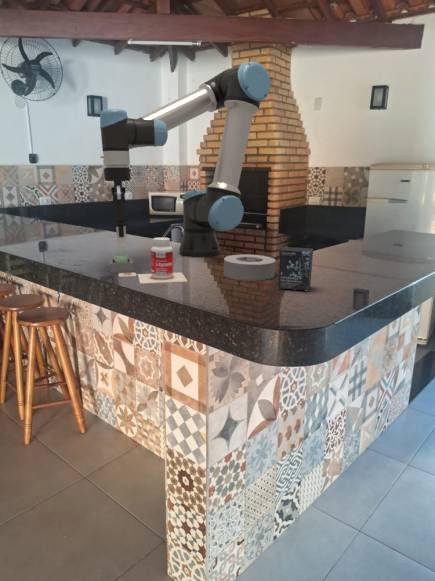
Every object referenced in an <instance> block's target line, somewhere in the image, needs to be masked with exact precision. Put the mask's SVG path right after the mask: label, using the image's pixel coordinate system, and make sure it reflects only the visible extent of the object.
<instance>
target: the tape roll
mask: <svg viewBox="0 0 435 581" xmlns="http://www.w3.org/2000/svg"><path fill="white" fill-rule="evenodd" d="M223 276H224V277H226V278H228V279H231V280H237V281H246V282H247V281H248V282H249V281H250V282H251V281H252V282H253V281H254V282H255V281H256V282H259V281H266V279H268V280H271V279H273V278H275V276H276V259H275V258H274V257H270V256H266V255H260V254H259V255H258V254H233V255H227V256H225V257H224V258H223ZM270 278H271V279H270Z"/></svg>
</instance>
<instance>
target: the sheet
mask: <svg viewBox="0 0 435 581" xmlns="http://www.w3.org/2000/svg"><path fill="white" fill-rule="evenodd" d="M137 276H138V278H137V279H138V280H139V284H140V285H149V284H170V283H188V280H187V278H186V277H185V275H184V274H183V272H173V277H171V278H168V279H156V278H153V277H152V275H151V273H141V274H140V273H139V274H137Z"/></svg>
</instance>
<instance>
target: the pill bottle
mask: <svg viewBox="0 0 435 581" xmlns="http://www.w3.org/2000/svg"><path fill="white" fill-rule="evenodd" d="M152 242H153V246H152V247H150V268H151V269H150V271H151V272H150V274H151V275H152V277H153V278H156V279H168V278H171V277H173V273H174V249H173V247H172V246H171V245H170V244H171V238H169V237H153V240H152Z"/></svg>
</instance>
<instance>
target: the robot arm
mask: <svg viewBox="0 0 435 581" xmlns="http://www.w3.org/2000/svg"><path fill="white" fill-rule="evenodd" d="M270 78H271V77H270V74H268V71H267V69H266V67H265V66H264V65H262V64H261V63H260V62H257V61H249V62H243V63H241V64H239V65H237V66H233V67H231V68H227V69H224V70H223V71H221V72H219V73H218V74H216V75H215V76H214V77H212V78H210V79H208V80H207V81H205V82H204V83H201V84H199V86H198V89H195V90H194V91H192V92H189V93H187V94H185V95H183V96H182V97H179V98H177V99H175V100H173V101H171V102H168V103H167V104H165V105H163V106H161V107H159V108H157V109H154V110H152V111H151V112H148V113H146V114H144V115H142V116H140V117H138V118H131V117H130V118H129V117H128V112H127V111H126V110H125V109H118V108H109V109H106V108H105V109H103V110H101V112H100V115H99V126H100V127H99V128H100V136H101V148H102V154H100V159H103V160H102V163H103V166H104V168H103V178H104V181H106V182H113V186H112V187H110V188H111V194H112V202H113V203H114V209H115V223H114V224H113V227H115V228H116V229H115V230H116V244H117V245H116V246H117V248H118V249H122V248H124V249H125V248H127V232H126V226H127V225H128V222H126V218H125V217H126V216H125V203H126V186H125V187H124V186H123V182H129V181H130V180H131V168H130V167H129V166H130V165H131V160H130V158H131V157H130V150H131V149H135V148H136V149H137V148H145V147H153V148H154V147H164V146H165V145H166V144H167V140H168V136H169V135H168V134H169V131H170V130H172V129H175V128H177V127H178V126H180V125H183V124H184V123H186V122H189V121H191V120H193V119H195V118H197V117H199V116H201V115H202V114H205V113H206V112H209V113H213V112H215V111H217V110H219V109H220V110H221V109H223V108H225V109H226V110H227V112H226V116H225V121H224V127H223V130H222V131H223V132H222V134H221V135H222V136H221V140H220V144H219V152H218V156H217V160H216V165H215V170H214V175H213V180H212V182H211V183H210V184H208V185H207V187H206V189H199V190H189V191H186V192H185V193H184V194H183V197H182V198H183V201H182V206H183V207H182V208H183V211H182V212H183V213H182V214H183V235H182V239H181V241H180V244H179V249H178V253H179V255H180V256H183V257H187V258H212V257H213V258H214V257H217V256H220V255H221V254H220V253H221V252H220V251H221V248H220V245H219V242H218V239H217V236H216V231H219V232H221V231H222V232H223V231H224V232H227V231H231V230H233V229H235V228H236V227H238V226H239V225H240V223H241V222H242V220H243V216H244V214H245V213H244V212H245V211H244V210H245V209H244V208H245V207H244V206H243V203H242V201H241V195H242V194H241V191H240V189H239V184H240V179H241V175H242V174H241V173H242V169H243V164H244V159H245V154H246V149H247V145H248V140H249V136H250V131H251V126H252V122H253V118H254V115H256V114H258V112H259V111H260V107H261V102H262V101H263V100H265V99H266V97H268V95H269V94H270V92H271V86H272V84H271V79H270Z"/></svg>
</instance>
